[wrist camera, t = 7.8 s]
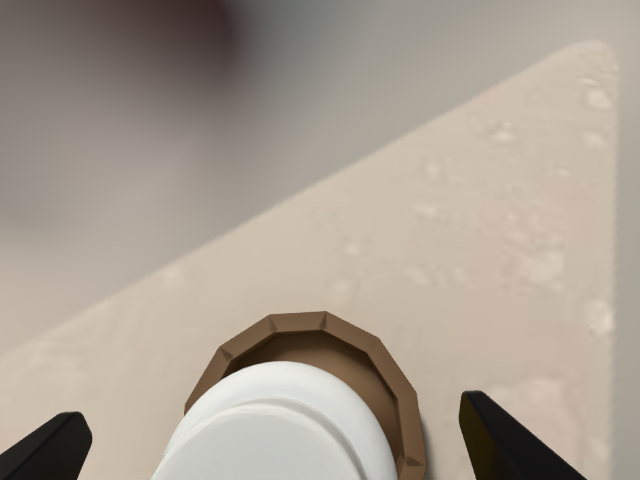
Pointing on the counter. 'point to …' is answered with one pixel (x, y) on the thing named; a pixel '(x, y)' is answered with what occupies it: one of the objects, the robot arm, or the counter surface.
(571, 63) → the counter surface
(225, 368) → the walnut tray
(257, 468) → the supplement bottle
